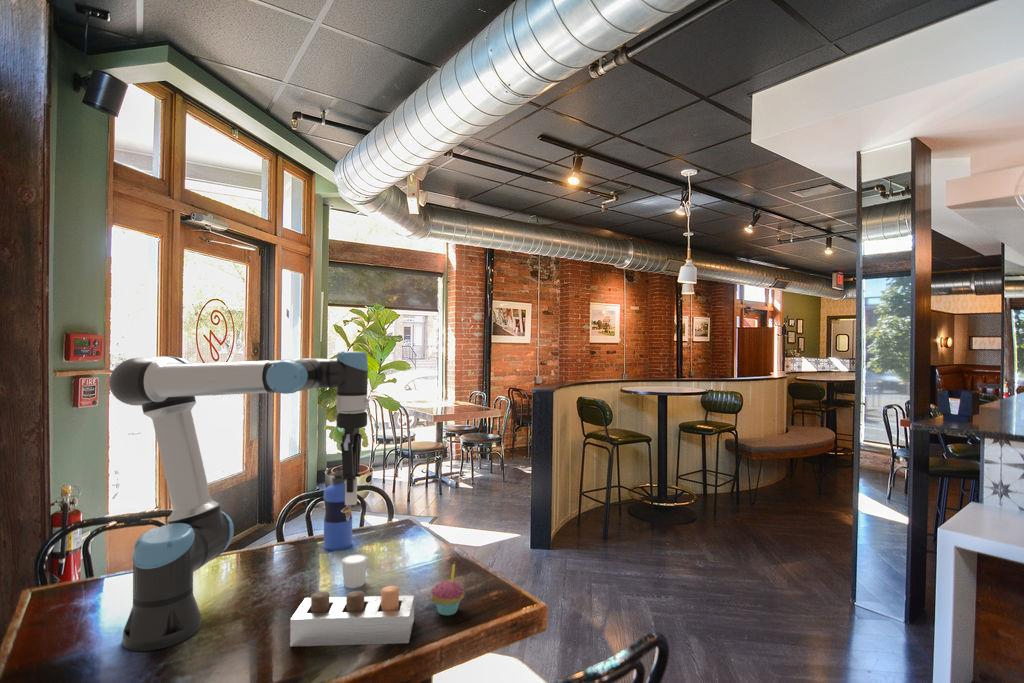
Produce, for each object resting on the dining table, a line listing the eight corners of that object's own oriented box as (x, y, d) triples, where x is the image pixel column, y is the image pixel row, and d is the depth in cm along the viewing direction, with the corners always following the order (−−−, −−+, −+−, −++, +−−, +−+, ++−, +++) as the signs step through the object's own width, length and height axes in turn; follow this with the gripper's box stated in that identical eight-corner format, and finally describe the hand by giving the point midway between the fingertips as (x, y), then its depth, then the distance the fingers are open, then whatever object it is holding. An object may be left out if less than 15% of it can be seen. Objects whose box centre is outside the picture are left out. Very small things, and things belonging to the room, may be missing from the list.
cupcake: (450, 599, 139) (451, 554, 140) (471, 611, 133) (472, 563, 133) (423, 611, 133) (424, 563, 134) (444, 623, 127) (444, 573, 127)
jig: (290, 646, 117) (290, 619, 117) (304, 623, 127) (305, 597, 127) (408, 643, 119) (408, 616, 119) (413, 620, 129) (414, 595, 129)
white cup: (359, 590, 144) (360, 564, 145) (336, 587, 146) (337, 562, 146) (371, 579, 151) (371, 554, 151) (349, 577, 153) (349, 552, 153)
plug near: (308, 630, 120) (308, 599, 120) (313, 621, 124) (314, 591, 124) (326, 630, 121) (326, 599, 121) (331, 621, 125) (331, 591, 125)
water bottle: (317, 549, 173) (318, 473, 173) (331, 539, 182) (332, 466, 182) (344, 551, 171) (345, 474, 172) (357, 541, 180) (358, 468, 181)
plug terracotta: (379, 624, 121) (380, 593, 121) (382, 615, 125) (383, 585, 125) (397, 623, 122) (397, 593, 122) (399, 615, 126) (400, 585, 126)
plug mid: (344, 629, 121) (344, 599, 121) (348, 620, 125) (348, 590, 125) (361, 629, 121) (362, 598, 121) (365, 620, 125) (365, 590, 125)
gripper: (361, 414, 129) (360, 511, 129) (371, 408, 142) (370, 496, 142) (330, 414, 128) (328, 512, 128) (343, 408, 141) (342, 496, 141)
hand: (351, 503), depth 135 cm, fingers closed
